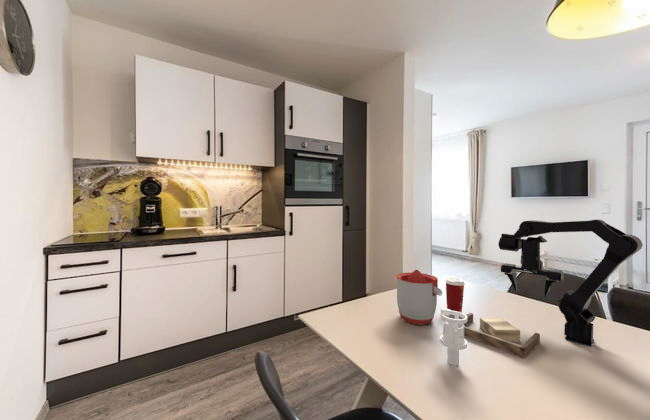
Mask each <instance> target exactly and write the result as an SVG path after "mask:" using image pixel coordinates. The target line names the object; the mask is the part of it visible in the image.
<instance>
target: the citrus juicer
mask: <svg viewBox="0 0 650 420" xmlns="http://www.w3.org/2000/svg"><path fill="white" fill-rule="evenodd" d="M438 282H439V280H438V278H437V277H436V276H434V275H431V274H427V273H421V271H419V270H418V269H415V270H414V271H412V272H401V273H398V274H396V302H397V308H398V312H399V316H400V317H401V319H402V320H403V321H404V320H405V321H404V322H406V323H409V324H411V325H420V326H424V325H429V324H431V323H432V321H433V319H434V317H435V313H436V309H437V304H438V302H437V301H438V296H440V297H441V296H443V291H442V289H441V288H439V287H438V284H439V283H438Z"/></svg>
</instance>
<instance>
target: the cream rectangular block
mask: <svg viewBox="0 0 650 420" xmlns="http://www.w3.org/2000/svg"><path fill="white" fill-rule="evenodd" d="M479 328H480V329H481V330H482V329H483V330H484V331H483V330H482V331H483V332H484V333H486V334H489V335H492V336H495V337H498V338H501V339H503V340H506V341H509V342H521V330H520V329H519V328H517V327H516V326H514V325H512V324H511V323H510V322H508V321H507V320H505V319H504V318H502V317H501V318H500V317H480V318H479Z"/></svg>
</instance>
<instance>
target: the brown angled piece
mask: <svg viewBox="0 0 650 420" xmlns="http://www.w3.org/2000/svg"><path fill="white" fill-rule="evenodd" d="M465 315H466V316H467V323H465V324H463V325H464V337H466V338H468V339H471V340H473V341H477V342H479V343H482V344H484V345H487V346H490V347H493V348H495V349H498V350H501V351H503V352H505V353H509V354H511V355H513V356H517V357H519V358H522V359H524V360H525V359H526V358H527V357H528V356H529V355H530V354H531V353H532V351H534V350H535V348H537V346H538V345H539V344H540V342H541V333H538V332H534V333H533V334H532V335H531V336H530V337H529V338H528V339H526V341H525V342H524V343H522V345H521V344H517V343H515V342H513V341H506V340H503V339H501V338H498V337H495V336H492V335H489V334H487V333H486V332H484V331H480V330H477V329H474V328H472V327H468V325H469V324H471V323H473V322H474V313H472V312H469V313H467V314H465ZM459 319H464V318H462V317H459ZM472 321H473V322H472ZM467 324H468V325H467Z"/></svg>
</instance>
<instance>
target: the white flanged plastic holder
mask: <svg viewBox="0 0 650 420" xmlns="http://www.w3.org/2000/svg"><path fill="white" fill-rule="evenodd" d="M446 315H447V316H446ZM449 315H452V316H454V318H452V317H451V318H450V317H448V316H449ZM466 315H467V314H465V313H463V312H462V313H461V312H457V311H452V310H450V309H447V308H444V307H441V308H440V321H441V322H443V323H442V324H443V325H442V334H441V335H440V337H439V339H440V340H439V341H440V344H441V345H442V346H444V347H446V348H447V350H446V351H447V358H446V359H447V363H448V364H450V365H451V366H458V365H459V364H460V351H461V350H466V349H467V348H468V341H467V339H465V336H464V325H463V324H465V323H467V316H466ZM461 317H462V318H464V319H459V318H461Z"/></svg>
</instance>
